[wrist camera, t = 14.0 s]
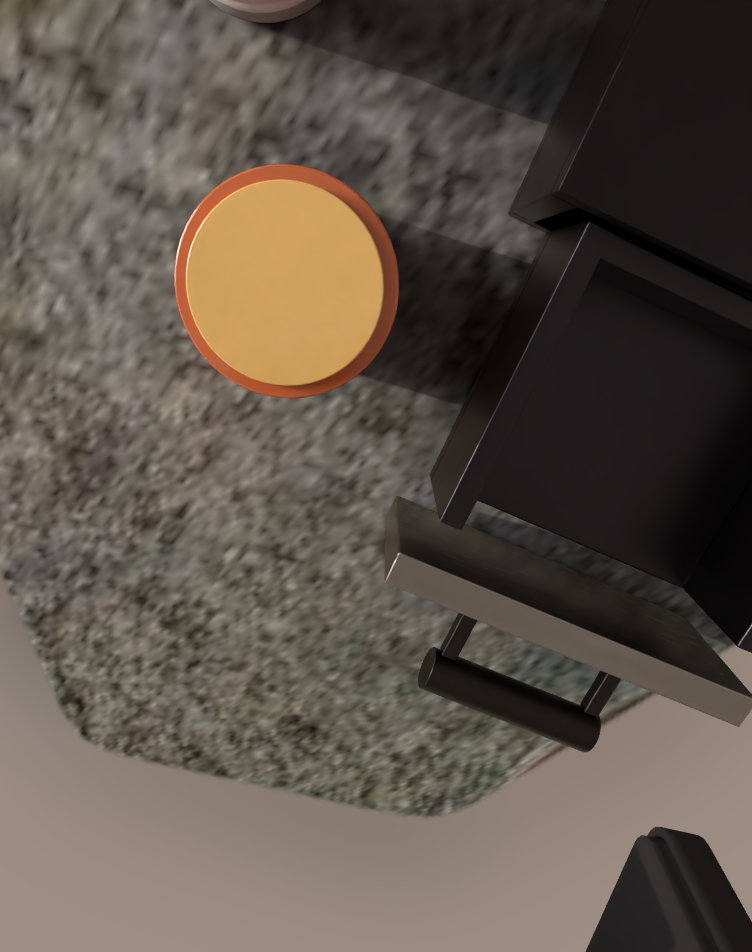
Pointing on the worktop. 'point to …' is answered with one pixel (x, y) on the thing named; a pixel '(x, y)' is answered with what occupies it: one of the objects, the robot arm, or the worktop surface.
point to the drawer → (596, 486)
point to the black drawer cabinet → (656, 136)
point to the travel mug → (265, 9)
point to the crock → (286, 281)
